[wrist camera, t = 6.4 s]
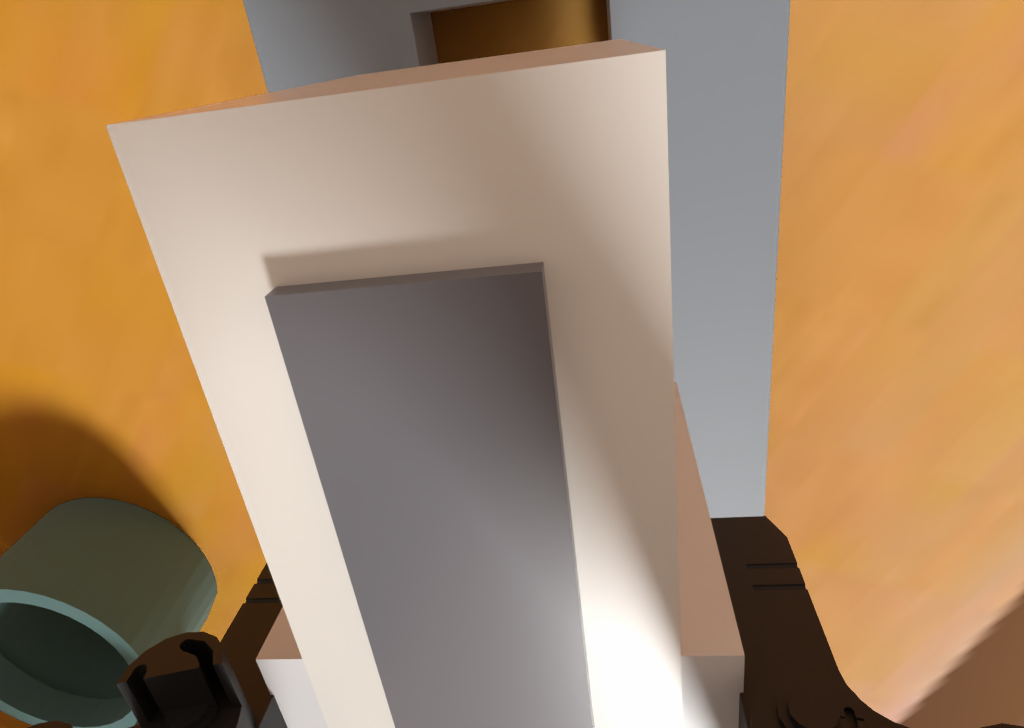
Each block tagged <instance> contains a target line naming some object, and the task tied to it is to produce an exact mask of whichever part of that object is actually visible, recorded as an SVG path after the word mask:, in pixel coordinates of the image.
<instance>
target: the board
mask: <svg viewBox="0 0 1024 728" xmlns="http://www.w3.org/2000/svg"><path fill="white" fill-rule="evenodd" d="M505 1H512V0H243V2H244V6H245V10H246V13H247V17H248V21H249V24H250V28H251V32H252V35H253V39H254V43H255V46H256V50H257V54H258V57H259V61H260V64H261V68H262V72H263V75H264V79H265V83H266V86H267V90H268V93H270V92H275V91H280V90H286V89H291V88H296V87H301V86H306V85H311V84H316V83H321V82H326V81H331V80H336V79H341V78H346V77H351V76H356V75H362V74H369V73H376V72H383V71H391V70H398V69H405V68H412V67H420V66H427V65H434V64H439V62H438V56H437V49H436V43H435V37H434V31H433V25H432V19H431V13H432V12H439V11H445V10H452V9H459V8H465V7H472V6H479V5H485V4H492V3H499V2H505ZM606 4H607V21H608V38H609V40H615V39H623V40H627V41H631V42H635V43H639V44H643V45H647V46H651V47H655V48H660V49H664V50H666V86H667V125H668V165H669V204H670V244H671V284H672V323H673V363H674V382H677V386H678V390H679V394H680V398H681V402H682V406H683V410H684V414H685V418H686V422H687V426H688V430H689V434H690V438H691V442H692V446H693V450H694V454H695V458H696V462H697V466H698V470H699V474H700V479H701V483H702V487H703V491H704V495H705V499H706V503H707V507H708V511H709V515H710V518H726V517H753V516H764V508H765V488H766V469H767V449H768V429H769V409H770V390H771V370H772V350H773V330H774V311H775V291H776V271H777V252H778V232H779V212H780V192H781V173H782V153H783V133H784V113H785V94H786V74H787V54H788V35H789V15H790V0H606Z"/></svg>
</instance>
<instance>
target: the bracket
mask: <svg viewBox="0 0 1024 728" xmlns="http://www.w3.org/2000/svg"><path fill="white" fill-rule="evenodd" d="M216 594H217V585H216V579H215V576H214V573H213V570H212V567H211V566H210V564H209V562H208V560H207V558H206V557H205V555H204V554H203V552H202V551H201V550H200V549H199V547H198V546H197V545H196V544H195V543H194V542H193V541H192V540H191V539H190V538H189V537H188V536H187V535H186V534H185V533H184V532H183V531H182V530H180V529H179V528H177V527H176V526H175V525H173V524H172V523H171V522H169V521H168V520H166V519H164V518H162V517H161V516H159V515H157V514H155V513H154V512H151V511H149V510H147V509H144V508H142V507H139V506H137V505H134V504H130V503H127V502H123V501H120V500H113V499H107V498H81V499H75V500H70V501H68V502H65V503H62V504H60V505H58V506H56V507H55V508H53V509H52V510H50V511H49V512H48V513H46V514H45V515H44V516H43V517H42V518H41V519H40V520H39V521H38V522H37V523H36V524H35V525H34V526H33V527H32V528H30V529H29V530H28V531H27V532H26V533H25V534H24V535H23V536H22V537H21V538H20V539H19V540H18V541H17V542H16V543H15V544H13V545H12V546H11V547H10V548H9V549H8V550H7V551H6V552H5V553H4V554H3V555H2V556H1V557H0V710H1V711H2V712H4V713H6V714H8V715H10V716H12V717H14V718H16V719H18V720H20V721H23V722H25V723H28V724H30V725H35V724H38V723H44V722H50V721H56V720H57V721H61V722H65V723H68V724H71V725H72V727H73V728H129V727H132V726H135V725H138V724H139V723H138V721H137V719H136V717H135V716H134V714H133V712H132V710H131V709H130V707H129V705H128V704H127V702H126V700H125V698H124V697H123V695H122V693H121V691H120V690H119V688H118V686H117V682H118V681H119V679H120V678H121V676H122V675H123V673H124V672H125V670H126V669H127V667H128V666H129V665H130V664H131V663H132V662H134V661H135V660H136V659H137V658H138V657H139V656H140V655H141V654H142V653H143V652H145V651H146V650H148V649H149V648H151V647H153V646H154V645H156V644H158V643H160V642H161V641H163V640H165V639H167V638H170V637H173V636H176V635H179V634H182V633H186V632H199V631H200V629H201V627H202V626H203V624H204V622H205V621H206V619H207V617H208V615H209V612H210V610H211V607H212V605H213V602H214V599H215V597H216Z"/></svg>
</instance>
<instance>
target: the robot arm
mask: <svg viewBox="0 0 1024 728" xmlns="http://www.w3.org/2000/svg"><path fill="white" fill-rule="evenodd" d="M674 402H675V442H676V481H677V521H678V560H679V600H680V639H681V679H682V718H683V728H908V727H906V726H903V725H900V724H898V723H895V722H892V721H891V720H889V719H887V718H885V717H884V716H882V715H880V714H878V713H877V712H875V711H873V710H872V709H871V708H870V707H868V706H867V705H866V704H865V703H864V702H862V701H861V700H860V699H859V698H858V697H857V695H856V694H855V693H854V692H853V691H852V690H851V689H850V688H849V687H848V686H847V685H846V683H845V681H844V679H843V677H842V675H841V674H840V672H839V670H838V667H837V665H836V662H835V660H834V657H833V654H832V652H831V649H830V647H829V644H828V642H827V639H826V636H825V634H824V631H823V629H822V626H821V624H820V621H819V618H818V616H817V613H816V611H815V608H814V606H813V603H812V600H811V598H810V595H809V593H808V590H807V589H806V588H805V582H804V580H803V577H802V575H801V572H800V569H799V568H798V567H797V562H796V559H795V557H794V554H793V551H792V549H791V546H790V544H789V541H788V539H787V537H786V536H785V535H784V534H783V533H782V532H781V531H780V530H779V529H778V528H777V527H776V526H775V525H774V524H773V523H772V522H771V521H770V520H769V519H768V518H767V517H766V516H753V517H726V518H710V515H709V511H708V507H707V503H706V499H705V495H704V491H703V487H702V483H701V479H700V474H699V470H698V466H697V462H696V458H695V454H694V450H693V446H692V442H691V438H690V434H689V430H688V426H687V422H686V418H685V414H684V410H683V406H682V402H681V398H680V394H679V390H678V386H677V382H674ZM117 686H118V688H119V690H120V691H121V693H122V695H123V697H124V698H125V700H126V702H127V704H128V705H129V707H130V709H131V710H132V712H133V714H134V716H135V717H136V719H137V721H138V723H139V724H138V725H135V726H132V727H129V728H328V727H327V725H326V722H325V719H324V716H323V714H322V711H321V708H320V706H319V703H318V700H317V697H316V695H315V692H314V689H313V687H312V684H311V681H310V678H309V676H308V673H307V670H306V668H305V665H304V662H303V659H302V657H301V654H300V651H299V649H298V646H297V643H296V640H295V638H294V635H293V632H292V630H291V627H290V624H289V621H288V619H287V616H286V613H285V611H284V608H283V605H282V602H281V600H280V597H279V594H278V592H277V589H276V586H275V583H274V581H273V578H272V575H271V573H270V570H269V567H268V564H267V563H266V565H265V567H264V569H263V570H262V572H261V574H260V575H259V577H258V579H257V584H254V586H253V587H252V589H251V591H250V593H249V594H248V596H247V598H246V603H243V604H242V606H241V608H240V610H239V611H238V613H237V615H236V616H235V618H234V620H233V622H232V623H231V625H230V627H229V628H228V630H227V632H226V634H225V635H224V637H223V639H222V640H221V642H219V640H218V639H217V637H215V636H213V635H210V634H208V633H205V632H186V633H182V634H179V635H176V636H173V637H170V638H167V639H165V640H163V641H161V642H160V643H158V644H156V645H154V646H153V647H151V648H149V649H148V650H146V651H145V652H143V653H142V654H141V655H140V656H139V657H138V658H137V659H136V660H135V661H134V662H132V663H131V664H130V665H129V666H128V667H127V669H126V670H125V672H124V673H123V675H122V676H121V678H120V679H119V681H118V682H117ZM29 728H73V727H72V725H71V724H68V723H65V722H61V721H57V720H56V721H50V722H44V723H38V724H35V725H33V726H31V727H29ZM981 728H1024V727H1022V726H1016V725H1009V724H1003V723H1002V724H997V725H992V726H987V727H981Z"/></svg>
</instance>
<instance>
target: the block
mask: <svg viewBox="0 0 1024 728" xmlns="http://www.w3.org/2000/svg"><path fill="white" fill-rule="evenodd" d="M106 127H107V130H108V133H109V136H110V138H111V141H112V144H113V146H114V149H115V152H116V155H117V157H118V160H119V163H120V165H121V168H122V171H123V174H124V176H125V179H126V182H127V184H128V187H129V190H130V193H131V195H132V198H133V201H134V203H135V206H136V209H137V212H138V214H139V217H140V220H141V222H142V225H143V228H144V231H145V233H146V236H147V239H148V241H149V244H150V247H151V250H152V252H153V255H154V258H155V260H156V263H157V266H158V269H159V271H160V274H161V277H162V279H163V282H164V285H165V288H166V290H167V293H168V296H169V298H170V301H171V304H172V307H173V309H174V312H175V315H176V317H177V320H178V323H179V326H180V328H181V331H182V334H183V336H184V339H185V342H186V345H187V347H188V350H189V353H190V355H191V358H192V361H193V364H194V366H195V369H196V372H197V374H198V377H199V380H200V383H201V385H202V388H203V391H204V393H205V396H206V399H207V402H208V404H209V407H210V410H211V412H212V415H213V418H214V421H215V423H216V426H217V429H218V431H219V434H220V437H221V440H222V442H223V445H224V448H225V450H226V453H227V456H228V459H229V461H230V464H231V467H232V469H233V472H234V475H235V478H236V480H237V483H238V486H239V488H240V491H241V494H242V497H243V499H244V502H245V505H246V507H247V510H248V513H249V516H250V518H251V521H252V524H253V526H254V529H255V532H256V535H257V537H258V540H259V543H260V545H261V548H262V551H263V554H264V556H265V559H266V562H267V564H268V567H269V570H270V573H271V575H272V578H273V581H274V583H275V586H276V589H277V592H278V594H279V597H280V600H281V602H282V605H283V608H284V611H285V613H286V616H287V619H288V621H289V624H290V627H291V630H292V632H293V635H294V638H295V640H296V643H297V646H298V649H299V651H300V654H301V657H302V659H303V662H304V665H305V668H306V670H307V673H308V676H309V678H310V681H311V684H312V687H313V689H314V692H315V695H316V697H317V700H318V703H319V706H320V708H321V711H322V714H323V716H324V719H325V722H326V725H327V727H328V728H683V718H682V679H681V639H680V600H679V560H678V521H677V481H676V442H675V402H674V363H673V323H672V284H671V244H670V204H669V165H668V125H667V86H666V50H664V49H660V48H655V47H651V46H647V45H643V44H639V43H635V42H631V41H627V40H623V39H615V40H608V41H601V42H594V43H586V44H579V45H572V46H565V47H557V48H550V49H543V50H536V51H528V52H521V53H514V54H507V55H499V56H492V57H485V58H478V59H470V60H463V61H456V62H449V63H441V64H434V65H427V66H420V67H412V68H405V69H398V70H391V71H383V72H376V73H369V74H362V75H356V76H351V77H346V78H341V79H336V80H331V81H326V82H321V83H316V84H311V85H306V86H301V87H296V88H291V89H286V90H280V91H275V92H270V93H265V94H260V95H255V96H250V97H245V98H240V99H235V100H230V101H225V102H220V103H215V104H210V105H205V106H200V107H195V108H190V109H185V110H180V111H175V112H170V113H165V114H160V115H155V116H150V117H144V118H139V119H134V120H129V121H124V122H119V123H114V124H109V125H106Z"/></svg>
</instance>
